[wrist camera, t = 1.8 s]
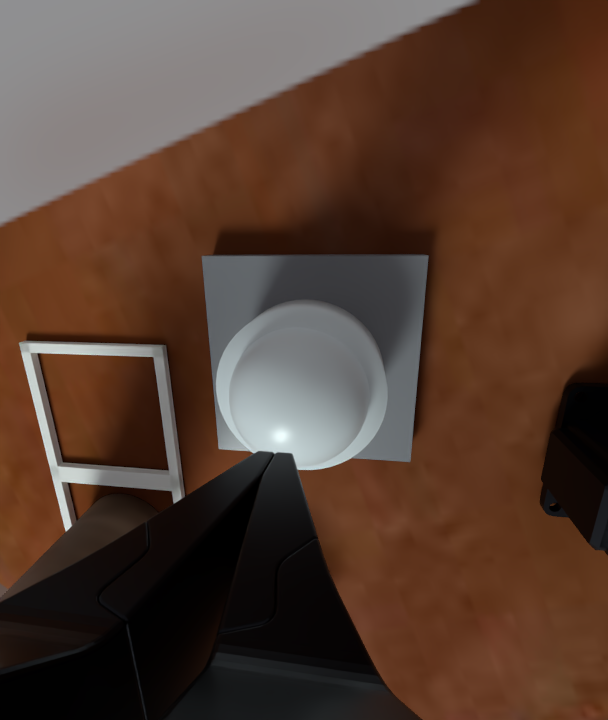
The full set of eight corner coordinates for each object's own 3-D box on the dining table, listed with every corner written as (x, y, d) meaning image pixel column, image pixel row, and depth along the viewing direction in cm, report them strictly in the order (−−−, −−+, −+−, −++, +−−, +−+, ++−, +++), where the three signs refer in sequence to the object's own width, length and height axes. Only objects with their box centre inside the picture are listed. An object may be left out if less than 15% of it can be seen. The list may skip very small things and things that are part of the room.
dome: (387, 298, 14) (401, 328, 10) (379, 441, 16) (387, 523, 11) (231, 296, 15) (176, 323, 10) (240, 433, 17) (197, 505, 12)
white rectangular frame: (166, 345, 18) (162, 347, 18) (196, 586, 23) (193, 592, 23) (25, 340, 19) (18, 342, 19) (81, 573, 24) (77, 578, 24)
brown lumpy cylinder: (163, 497, 21) (-102, 848, 9) (173, 567, 23) (-42, 948, 11) (82, 490, 22) (-268, 808, 10) (97, 558, 24) (-188, 907, 11)
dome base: (423, 254, 16) (428, 255, 14) (407, 448, 18) (410, 461, 17) (212, 254, 17) (201, 255, 16) (226, 436, 20) (218, 448, 18)
